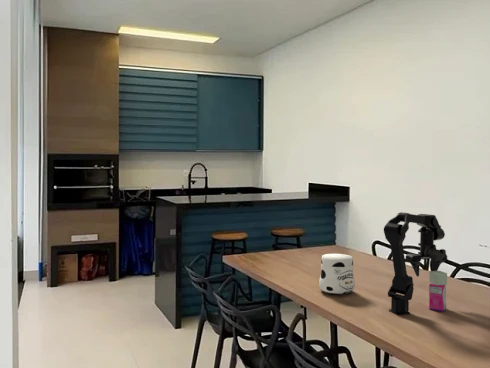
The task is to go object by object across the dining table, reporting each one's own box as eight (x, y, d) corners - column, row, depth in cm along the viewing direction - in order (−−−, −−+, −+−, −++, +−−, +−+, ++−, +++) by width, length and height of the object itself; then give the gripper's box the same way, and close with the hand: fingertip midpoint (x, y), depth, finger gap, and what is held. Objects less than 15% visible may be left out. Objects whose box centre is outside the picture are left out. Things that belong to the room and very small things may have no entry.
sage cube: (437, 285, 200) (437, 274, 200) (429, 282, 205) (429, 271, 204) (446, 284, 201) (447, 273, 201) (438, 281, 206) (438, 270, 206)
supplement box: (432, 306, 208) (433, 281, 207) (446, 308, 204) (447, 283, 203) (428, 309, 203) (429, 283, 203) (442, 312, 199) (443, 286, 199)
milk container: (352, 299, 218) (352, 261, 217) (315, 295, 224) (316, 258, 223) (356, 289, 234) (357, 254, 233) (322, 286, 240) (323, 252, 239)
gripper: (421, 245, 199) (420, 281, 200) (456, 243, 205) (455, 278, 206) (405, 241, 210) (404, 275, 211) (439, 239, 215) (438, 272, 216)
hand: (426, 275), depth 210 cm, fingers open, 9 cm apart
